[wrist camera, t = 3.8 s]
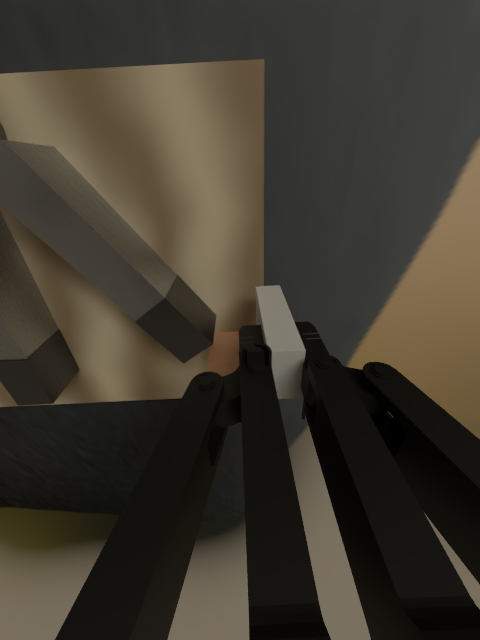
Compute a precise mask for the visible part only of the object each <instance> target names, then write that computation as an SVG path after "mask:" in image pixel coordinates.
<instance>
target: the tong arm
mask: <svg viewBox="0 0 480 640" xmlns="http://www.w3.org/2000/svg"><path fill="white" fill-rule="evenodd" d="M0 205H1V206H3V207H4V208H5V209H6V210H7V211H8V212H10V213H11V214H12V215H13V216H14V217H15V218H17V219H18V220H19V221H20V222H21V223H22V224H24V225H25V226H26V227H27V228H28V229H29V230H31V231H32V232H33V233H34V234H35V235H36V236H38V237H39V238H40V239H41V240H42V241H43V242H45V243H46V244H47V245H48V246H49V247H50V248H52V249H53V250H54V251H55V252H56V253H57V254H59V255H60V256H61V257H62V258H63V259H64V260H66V261H67V262H68V263H69V264H70V265H71V266H73V267H74V268H75V269H76V270H77V271H78V272H80V273H81V274H82V275H83V276H84V277H85V278H87V279H88V280H89V281H90V282H91V283H92V284H94V285H95V286H96V287H97V288H98V289H99V290H101V291H102V292H103V293H104V294H105V295H106V296H108V297H109V298H110V299H111V300H112V301H113V302H115V303H116V304H117V305H118V306H119V307H120V308H122V309H123V310H124V311H125V312H126V313H127V314H129V315H130V316H131V317H132V318H133V319H134V320H136V321H135V323H136V324H137V325H139V326H140V327H141V328H142V329H143V330H145V331H146V332H147V333H148V334H149V335H150V336H152V337H153V338H154V339H155V340H156V341H157V342H159V343H160V344H161V345H162V346H163V347H164V348H166V349H167V350H168V351H169V352H170V353H172V354H173V355H174V356H175V357H176V358H177V359H179V360H180V361H181V362H182V363H183V364H184V363H185V362H187V361H188V360H190V359H191V358H193V357H194V356H196V355H197V354H199V353H201V352H202V351H204V350H205V349H207V348H208V347H210V346H211V345H213V340H214V331H215V323H216V314H215V313H214V312H213V311H212V310H211V309H210V308H209V307H208V306H207V305H206V304H205V303H204V302H203V301H202V300H201V299H200V298H199V296H198V295H197V294H196V293H195V292H194V291H193V290H192V289H191V288H190V287H189V286H188V285H187V284H186V283H185V282H184V281H183V280H182V279H181V278H180V277H179V275H177V274H176V273H175V272H174V271H173V270H172V269H171V268H170V267H169V266H168V265H167V264H166V263H165V262H164V261H163V260H162V259H161V258H160V257H159V256H158V254H157V253H156V252H155V251H154V250H153V249H152V248H151V247H150V246H149V245H148V244H147V243H146V242H145V241H144V240H143V239H142V238H141V237H140V236H139V235H138V234H137V233H136V231H135V230H134V229H133V228H132V227H131V226H130V225H129V224H128V223H127V222H126V221H125V220H124V219H123V218H122V217H121V216H120V215H119V214H118V213H117V212H116V211H115V210H114V208H113V207H112V206H111V205H110V204H109V203H108V202H107V201H106V200H105V199H104V198H103V197H102V196H101V195H100V194H99V193H98V192H97V191H96V190H95V189H94V188H93V186H92V185H91V184H90V183H89V182H88V181H87V180H86V179H85V178H84V177H83V176H82V175H81V174H80V173H79V172H78V171H77V170H76V169H75V168H74V167H73V166H72V165H71V163H70V162H69V161H68V160H67V159H66V158H65V157H64V156H63V155H62V154H61V153H60V152H59V151H58V150H57V149H56V148H55V147H54V146H46V145H38V144H31V143H23V142H16V141H8V140H0Z"/></svg>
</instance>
